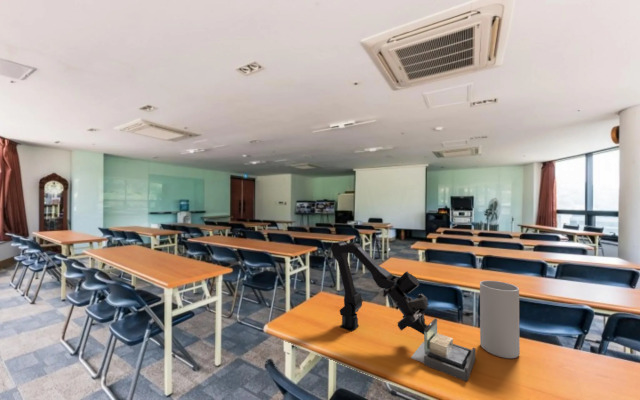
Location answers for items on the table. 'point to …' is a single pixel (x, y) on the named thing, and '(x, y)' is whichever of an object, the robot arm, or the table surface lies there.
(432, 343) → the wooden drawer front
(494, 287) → the cylinder vase
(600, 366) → the table surface
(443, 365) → the dock
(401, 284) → the robot arm
